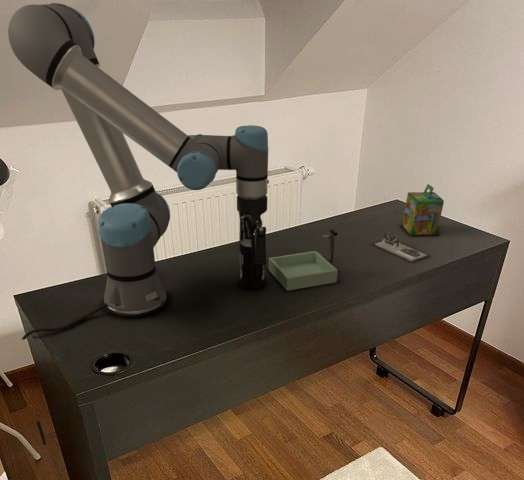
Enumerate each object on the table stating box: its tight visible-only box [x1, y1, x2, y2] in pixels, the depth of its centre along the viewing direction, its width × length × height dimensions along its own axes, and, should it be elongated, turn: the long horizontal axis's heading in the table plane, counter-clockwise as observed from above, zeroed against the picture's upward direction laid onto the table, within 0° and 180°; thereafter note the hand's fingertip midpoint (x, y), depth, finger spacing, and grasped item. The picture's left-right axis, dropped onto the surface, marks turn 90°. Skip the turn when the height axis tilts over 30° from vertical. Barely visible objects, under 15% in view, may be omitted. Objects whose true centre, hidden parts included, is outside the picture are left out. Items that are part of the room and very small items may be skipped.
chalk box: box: [401, 183, 445, 236], centre depth 170 cm, size 9×9×15 cm
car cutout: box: [374, 230, 428, 262], centre depth 159 cm, size 15×7×4 cm, turn 35°
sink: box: [268, 250, 339, 291], centre depth 144 cm, size 15×14×4 cm
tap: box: [322, 229, 338, 266], centre depth 144 cm, size 4×3×12 cm
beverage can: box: [239, 239, 266, 289], centre depth 137 cm, size 7×7×12 cm
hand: (252, 280), depth 140 cm, fingers closed on beverage can, 6 cm apart
